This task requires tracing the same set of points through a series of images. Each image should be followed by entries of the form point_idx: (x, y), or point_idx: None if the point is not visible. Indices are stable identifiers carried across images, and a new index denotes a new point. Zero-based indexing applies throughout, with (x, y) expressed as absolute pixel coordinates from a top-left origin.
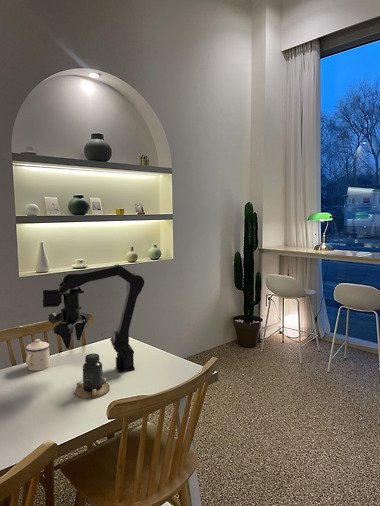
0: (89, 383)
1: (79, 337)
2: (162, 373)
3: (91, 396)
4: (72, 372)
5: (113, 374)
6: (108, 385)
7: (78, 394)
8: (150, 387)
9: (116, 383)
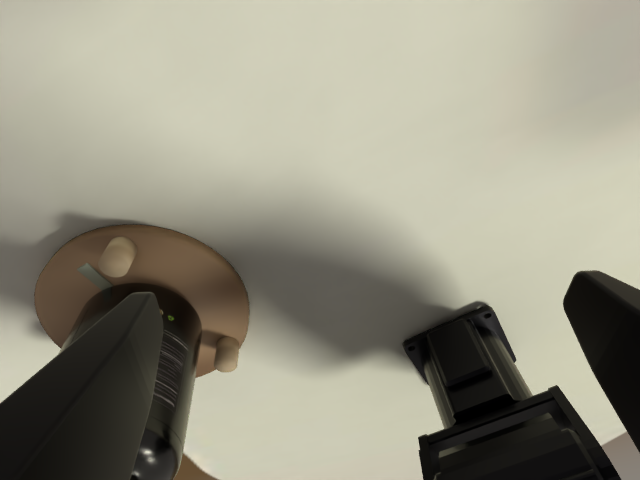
0: None
1: (593, 346)
2: (398, 467)
3: (60, 344)
4: (395, 51)
5: (376, 324)
6: (206, 369)
7: (37, 282)
8: (264, 468)
9: (269, 368)
